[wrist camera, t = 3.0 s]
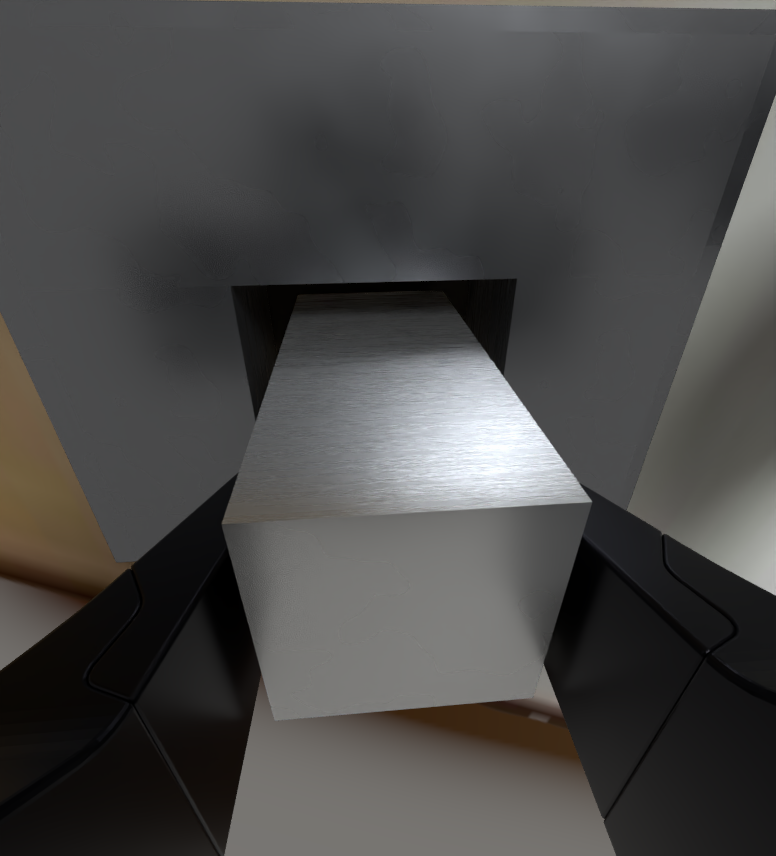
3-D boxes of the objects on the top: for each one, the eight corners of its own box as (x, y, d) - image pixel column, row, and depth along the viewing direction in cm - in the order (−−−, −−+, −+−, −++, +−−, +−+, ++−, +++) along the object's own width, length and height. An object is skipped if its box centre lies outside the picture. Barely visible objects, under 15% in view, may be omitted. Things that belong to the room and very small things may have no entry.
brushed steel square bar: (442, 290, 13) (592, 501, 5) (434, 427, 15) (528, 713, 7) (298, 294, 12) (220, 523, 5) (313, 432, 15) (278, 737, 7)
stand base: (777, 19, 11) (1116, -88, 6) (609, 516, 19) (697, 636, 14) (-111, 7, 9) (-570, -142, 5) (125, 546, 18) (44, 690, 13)
